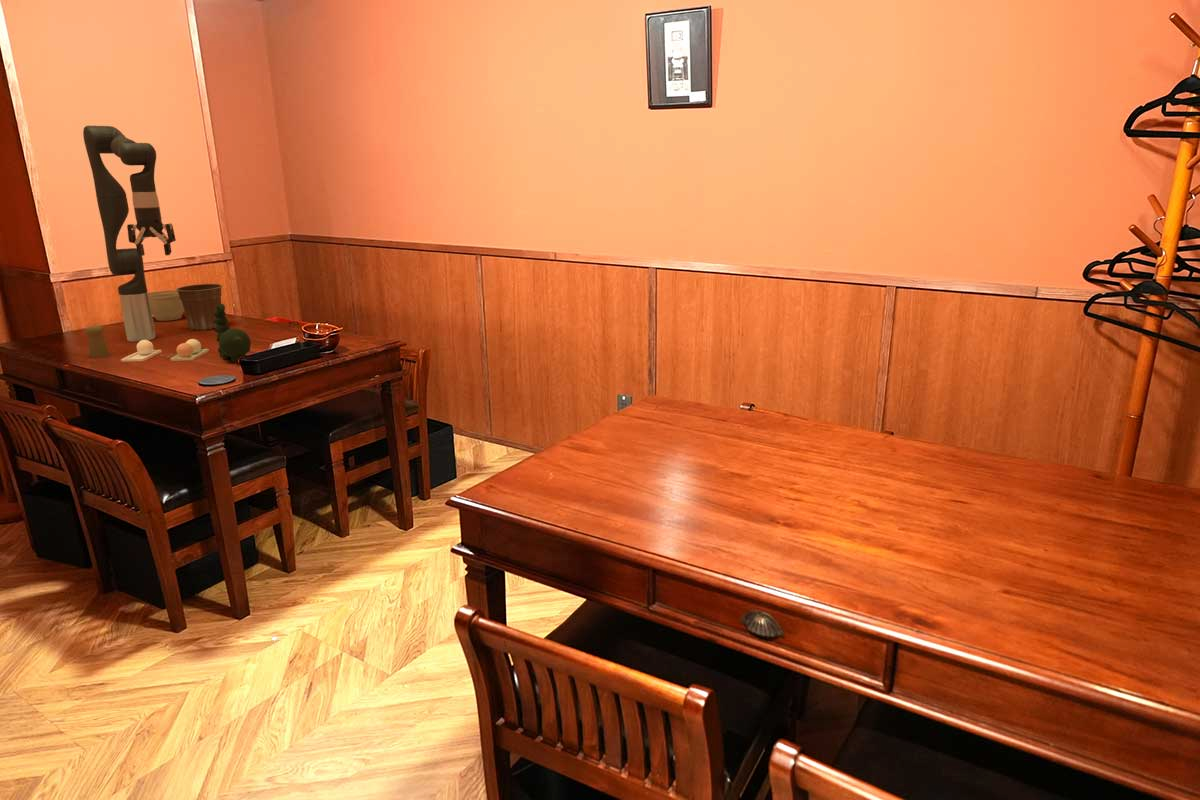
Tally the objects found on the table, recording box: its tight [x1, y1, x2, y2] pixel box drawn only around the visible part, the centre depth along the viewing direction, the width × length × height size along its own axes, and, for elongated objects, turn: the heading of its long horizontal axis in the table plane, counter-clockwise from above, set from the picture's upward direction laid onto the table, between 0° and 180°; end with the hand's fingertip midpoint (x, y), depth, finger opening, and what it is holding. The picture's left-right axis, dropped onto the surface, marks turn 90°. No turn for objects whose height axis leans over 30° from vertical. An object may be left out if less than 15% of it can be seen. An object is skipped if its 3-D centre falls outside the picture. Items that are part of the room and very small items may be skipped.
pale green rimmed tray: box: [169, 348, 210, 362], centre depth 272 cm, size 13×7×1 cm, turn 2°
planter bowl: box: [148, 289, 185, 322], centre depth 336 cm, size 16×16×11 cm
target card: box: [159, 353, 175, 358], centre depth 272 cm, size 8×6×1 cm
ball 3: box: [185, 338, 202, 354], centre depth 275 cm, size 5×5×5 cm
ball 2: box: [176, 342, 193, 358], centre depth 269 cm, size 5×5×5 cm
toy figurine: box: [213, 303, 252, 364], centre depth 267 cm, size 9×19×25 cm
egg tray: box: [120, 349, 162, 363], centre depth 272 cm, size 13×7×1 cm, turn 2°
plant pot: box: [175, 283, 223, 331], centre depth 317 cm, size 16×16×16 cm
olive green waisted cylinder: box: [85, 324, 111, 359], centre depth 272 cm, size 6×6×11 cm
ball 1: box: [136, 340, 154, 355], centre depth 274 cm, size 5×5×5 cm
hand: (154, 255), depth 272 cm, fingers open, 8 cm apart
